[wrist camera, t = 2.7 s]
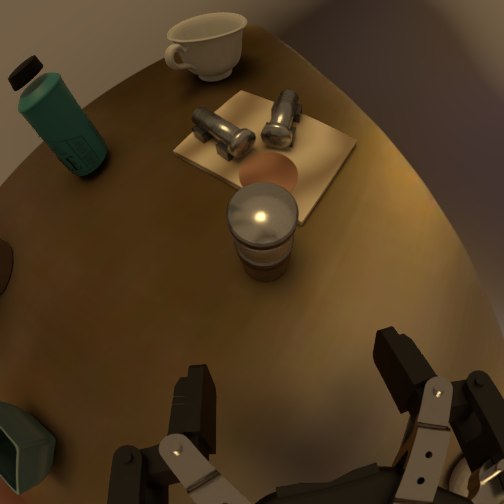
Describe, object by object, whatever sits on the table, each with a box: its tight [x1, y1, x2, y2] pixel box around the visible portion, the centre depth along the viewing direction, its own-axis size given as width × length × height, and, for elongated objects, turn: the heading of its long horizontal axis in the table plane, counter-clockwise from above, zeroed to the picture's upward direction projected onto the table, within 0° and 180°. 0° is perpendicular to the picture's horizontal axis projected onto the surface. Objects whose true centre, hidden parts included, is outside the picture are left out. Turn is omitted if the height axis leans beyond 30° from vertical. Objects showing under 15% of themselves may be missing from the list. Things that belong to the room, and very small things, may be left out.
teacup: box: [165, 13, 247, 82], centre depth 34 cm, size 12×15×10 cm
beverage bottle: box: [8, 55, 107, 176], centre depth 24 cm, size 6×7×20 cm
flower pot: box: [0, 401, 56, 495], centre depth 16 cm, size 9×9×9 cm
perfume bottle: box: [449, 457, 504, 504], centre depth 10 cm, size 8×10×12 cm
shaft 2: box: [261, 90, 302, 149], centre depth 30 cm, size 8×4×4 cm, turn 165°
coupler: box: [226, 182, 299, 282], centre depth 22 cm, size 5×5×10 cm
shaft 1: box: [192, 107, 256, 162], centre depth 30 cm, size 8×4×4 cm, turn 45°
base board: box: [173, 90, 357, 226], centre depth 31 cm, size 18×14×1 cm
